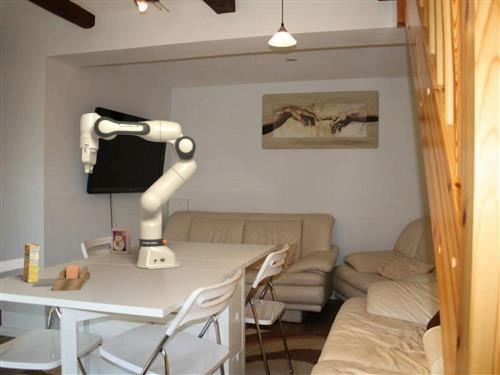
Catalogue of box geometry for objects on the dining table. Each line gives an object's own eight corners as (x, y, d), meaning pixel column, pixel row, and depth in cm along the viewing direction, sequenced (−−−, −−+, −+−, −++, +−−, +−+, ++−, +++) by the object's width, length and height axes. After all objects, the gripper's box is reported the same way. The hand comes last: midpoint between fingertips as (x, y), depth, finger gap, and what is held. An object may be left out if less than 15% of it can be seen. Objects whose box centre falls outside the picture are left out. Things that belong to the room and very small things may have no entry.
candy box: (22, 279, 186) (24, 244, 186) (33, 278, 189) (34, 243, 189) (28, 283, 179) (29, 246, 180) (38, 281, 182) (40, 245, 182)
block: (79, 276, 183) (79, 265, 183) (77, 278, 179) (77, 267, 179) (68, 276, 182) (68, 265, 182) (66, 278, 178) (66, 267, 178)
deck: (90, 277, 193) (90, 264, 193) (80, 289, 169) (80, 275, 169) (66, 277, 191) (66, 265, 191) (53, 290, 167) (53, 276, 167)
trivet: (61, 281, 184) (61, 278, 184) (56, 285, 176) (56, 282, 176) (39, 281, 182) (39, 278, 182) (33, 286, 174) (33, 283, 174)
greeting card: (110, 252, 262) (110, 228, 262) (117, 251, 269) (118, 227, 269) (126, 253, 259) (127, 229, 259) (133, 252, 266) (133, 228, 266)
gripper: (92, 143, 205) (92, 172, 205) (98, 147, 225) (98, 173, 225) (78, 143, 204) (78, 172, 204) (85, 146, 224) (85, 173, 224)
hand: (88, 172), depth 215 cm, fingers open, 8 cm apart
